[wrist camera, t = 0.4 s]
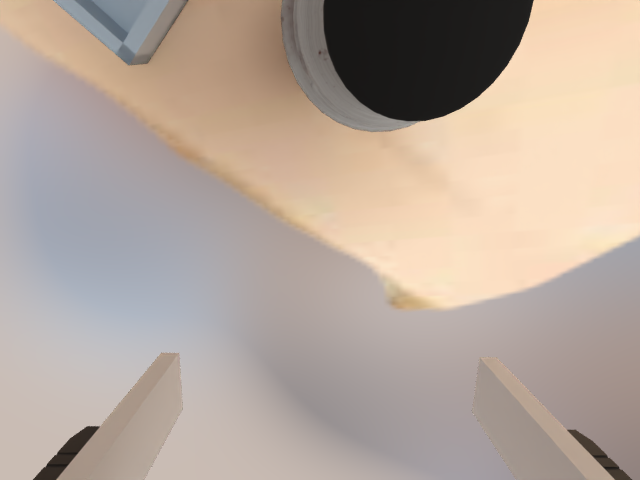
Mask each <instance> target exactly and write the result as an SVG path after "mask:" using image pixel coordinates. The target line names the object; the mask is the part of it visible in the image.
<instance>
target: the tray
mask: <svg viewBox="0 0 640 480" xmlns="http://www.w3.org/2000/svg"><path fill="white" fill-rule="evenodd" d="M53 1H54V2H56V3H57V4H58V5H59V6H60V7H61V8H63V9H64V10H65V11H66V12H67V13H68V14H70V15H71V16H72V17H73V18H74V19H75V20H77V21H78V22H79V23H80V24H81V25H82V26H84V27H85V28H86V29H87V30H88V31H89V32H91V33H92V34H93V35H94V36H95V37H96V38H98V39H99V40H100V41H101V42H102V43H103V44H105V45H106V46H107V47H108V48H109V49H110V50H112V51H113V52H114V53H115V54H116V55H117V56H118V57H120V58H121V59H122V60H123V61H124V62H125V63H127V64H128V65H137V64H146V63H148V62H149V60H150V59H151V57H152V56H153V54H154V52H155V51H156V49H157V48H158V46H159V45H160V43H161V42H162V40H163V39H164V37H165V35H166V34H167V32H168V31H169V29H170V28H171V26H172V25H173V23H174V22H175V20H176V18H177V17H178V15H179V14H180V12H181V11H182V9H183V8H184V6H185V4H186V3H187V1H188V0H53Z"/></svg>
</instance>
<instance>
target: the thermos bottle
mask: <svg viewBox="0 0 640 480" xmlns="http://www.w3.org/2000/svg"><path fill="white" fill-rule="evenodd" d="M533 1H534V0H282V9H281V24H282V36H283V43H284V47H285V51H286V55H287V59H288V63H289V65H290V67H291V69H292V72H293V74H294V76H295V78H296V81H297V83H298V84H299V86H300V87H301V89H302V90H303V91H304V93H305V94H306V96H307V97H308V99H309V100H310V101H311V102H312V103H313V104H314V105H315V106H316V107H317V108H318V109H319V110H320V111H321V112H322V113H324V114H326V115H327V116H329V117H330V118H332V119H333V120H335V121H336V122H338V123H340V124H343V125H346V126H348V127H351V128H353V129H358V130H364V131H370V132H380V131H392V130H397V129H401V128H405V127H408V126H411V125H413V124H415V123H417V122H420V121H426V120H431V119H435V118H439V117H443V116H445V115H447V114H450V113H452V112H454V111H456V110H459V109H461V108H462V107H464V106H465V105H467V104H468V103H470V102H471V101H473V100H474V99H476V98H477V97H478V96H480V95H481V94H482V93H483V92H484V91H485V90H486V89H487V88H488V87H489V86H490V85H491V84H492V83H494V81H495V80H496V79H497V77H498V76H499V75H500V74H501V72H502V71H503V70H504V69H505V67H506V66H507V65H508V63H509V61H510V60H511V58H512V56H513V55H514V53H515V51H516V49H517V48H518V46H519V44H520V42H521V39H522V37H523V34H524V32H525V29H526V27H527V24H528V22H529V18H530V13H531V9H532V5H533Z"/></svg>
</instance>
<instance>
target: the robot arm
mask: <svg viewBox="0 0 640 480" xmlns="http://www.w3.org/2000/svg"><path fill="white" fill-rule="evenodd" d="M182 410H183V402H182V387H181V372H180V357H179V353H161V354H160V355H159V356H158V357H157V359H156V360H155V361H154V362H153V363H152V365H151V366H150V367H149V368H148V370H147V371H146V372H145V373H144V374H143V376H142V377H141V378H140V379H139V380H138V382H137V383H136V384H135V385H134V386H133V388H132V389H131V390H130V391H129V392H128V394H127V395H126V396H125V397H124V398H123V400H122V401H121V402H120V403H119V404H118V406H117V407H116V408H115V410H114V411H113V412H112V413H111V414H110V415H109V417H108V418H107V419H106V420H105V421H104V423H103V424H102V425H101V426H100V427H98V426H97V427H96V426H91V427H90V426H88V427H86V428H84V429H83V430H82V431H80V432H79V433H77V434H76V435H74V436H73V437H72V438H70V439H69V440H68V441H67V443H66V444H65V445H64V446H63V447H62V448H61V449H60V450H59V452H58V453H57V455H55V456H54V457H53V458H52V459H51V460H50V461H49V463H48V464H47V466H46V467H44V468H43V469H42V470H41V472H39V474H38V475H37V476H36V477H35V478H34V479H33V480H144V479H145V478H146V476H147V474H148V472H149V470H150V468H151V467H152V465H153V463H154V461H155V459H156V457H157V455H158V454H159V452H160V450H161V448H162V446H163V444H164V443H165V441H166V439H167V437H168V435H169V433H170V432H171V430H172V428H173V426H174V424H175V422H176V421H177V419H178V417H179V415H180V413H181V411H182ZM472 413H473V414H474V416H475V417H476V419H477V420H478V422H479V423H480V425H481V426H482V428H483V429H484V431H485V432H486V434H487V436H488V437H489V439H490V440H491V442H492V443H493V445H494V446H495V448H496V449H497V451H498V453H499V454H500V456H501V457H502V459H503V460H504V462H505V463H506V464H507V466H508V468H509V469H510V471H511V472H512V474H513V476H514V477H515V479H516V480H632V479H631V478H630V477H629V476H628V475H627V474H626V473H625V472H624V471H623V470H620V469H619V467H618V466H617V464H615V463H614V462H613V461H612V460H611V459H610V458H608V457H607V455H606V454H605V453H604V452H603V451H602V450H601V449H600V448H599V447H598V446H597V445H596V444H595V443H594V442H593V441H591V440H590V439H588V438H587V437H585V436H584V435H582V434H581V433H579V432H578V431H576V430H566V429H565V428H564V427H563V426H562V425H561V423H560V422H559V421H558V420H557V419H556V418H555V417H554V416H553V415H552V414H551V413H550V412H549V411H548V410H547V409H546V408H545V407H544V406H543V405H542V404H541V403H540V402H539V401H538V400H537V399H536V398H535V397H534V396H533V395H532V394H531V393H530V391H528V389H527V388H526V387H525V386H524V385H523V384H522V383H521V382H520V381H519V380H518V379H517V378H516V377H515V376H514V375H513V374H512V373H511V372H510V371H509V370H508V369H507V368H506V367H505V366H504V365H503V364H502V363H501V362H500V360H498V358H491V357H488V358H487V357H480V358H479V366H478V372H477V380H476V387H475V395H474V401H473V408H472Z"/></svg>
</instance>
